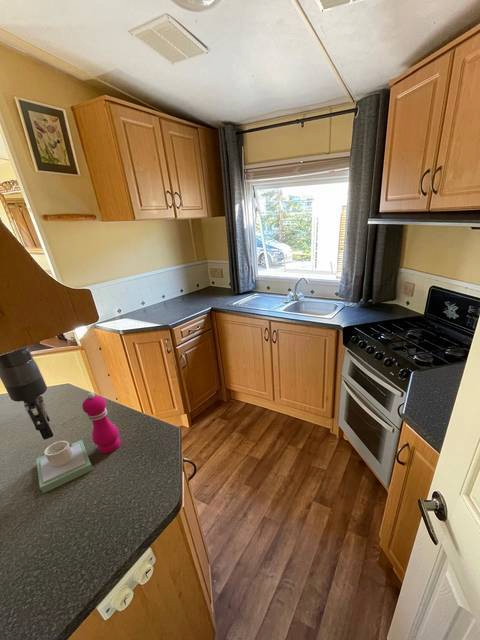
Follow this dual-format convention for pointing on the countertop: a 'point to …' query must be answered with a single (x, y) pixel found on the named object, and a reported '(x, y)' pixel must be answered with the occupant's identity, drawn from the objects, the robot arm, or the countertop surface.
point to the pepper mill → (101, 424)
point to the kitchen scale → (63, 468)
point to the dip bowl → (58, 453)
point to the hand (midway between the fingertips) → (47, 429)
